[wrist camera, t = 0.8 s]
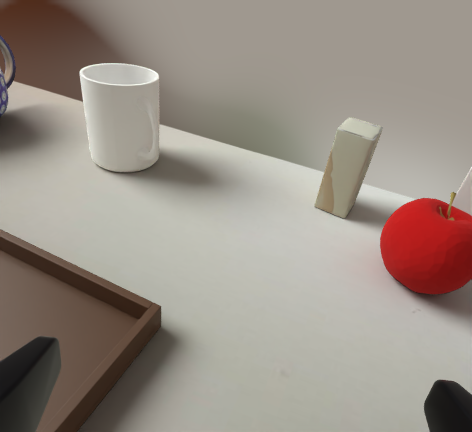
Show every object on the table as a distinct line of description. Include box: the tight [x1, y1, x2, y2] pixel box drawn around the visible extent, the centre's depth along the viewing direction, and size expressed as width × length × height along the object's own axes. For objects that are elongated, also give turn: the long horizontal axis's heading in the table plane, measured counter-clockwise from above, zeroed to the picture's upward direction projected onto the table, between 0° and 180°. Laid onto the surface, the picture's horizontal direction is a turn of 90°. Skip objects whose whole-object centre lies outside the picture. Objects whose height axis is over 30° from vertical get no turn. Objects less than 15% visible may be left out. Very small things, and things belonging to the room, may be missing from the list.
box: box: [315, 117, 383, 218], centre depth 45 cm, size 5×4×11 cm
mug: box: [80, 63, 159, 172], centre depth 48 cm, size 9×12×12 cm
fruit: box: [380, 192, 472, 294], centre depth 36 cm, size 9×9×10 cm
